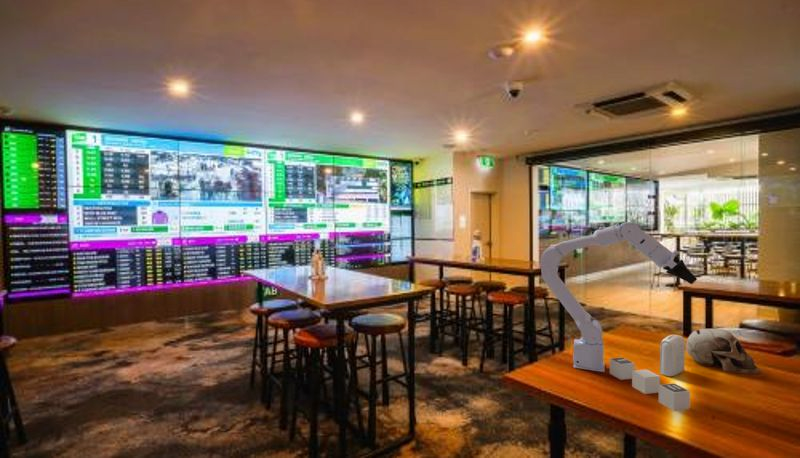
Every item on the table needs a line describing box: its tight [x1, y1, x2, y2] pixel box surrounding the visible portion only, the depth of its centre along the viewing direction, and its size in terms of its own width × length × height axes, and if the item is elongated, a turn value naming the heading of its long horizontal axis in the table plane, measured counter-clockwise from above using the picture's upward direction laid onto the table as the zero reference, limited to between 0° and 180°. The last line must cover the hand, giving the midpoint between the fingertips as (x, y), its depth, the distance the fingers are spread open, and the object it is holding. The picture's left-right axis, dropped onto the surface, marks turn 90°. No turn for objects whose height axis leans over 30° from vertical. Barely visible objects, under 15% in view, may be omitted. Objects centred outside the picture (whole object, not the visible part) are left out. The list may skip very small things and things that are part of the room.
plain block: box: [631, 369, 661, 395], centre depth 120 cm, size 5×5×5 cm
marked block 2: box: [658, 383, 691, 412], centre depth 110 cm, size 5×5×5 cm
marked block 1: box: [609, 357, 635, 380], centre depth 130 cm, size 5×5×5 cm
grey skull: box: [685, 328, 762, 375], centre depth 137 cm, size 16×17×13 cm
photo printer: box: [659, 334, 686, 377], centre depth 132 cm, size 10×4×12 cm, turn 123°
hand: (691, 279), depth 123 cm, fingers open, 7 cm apart
